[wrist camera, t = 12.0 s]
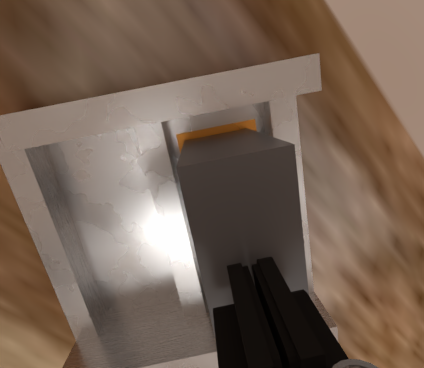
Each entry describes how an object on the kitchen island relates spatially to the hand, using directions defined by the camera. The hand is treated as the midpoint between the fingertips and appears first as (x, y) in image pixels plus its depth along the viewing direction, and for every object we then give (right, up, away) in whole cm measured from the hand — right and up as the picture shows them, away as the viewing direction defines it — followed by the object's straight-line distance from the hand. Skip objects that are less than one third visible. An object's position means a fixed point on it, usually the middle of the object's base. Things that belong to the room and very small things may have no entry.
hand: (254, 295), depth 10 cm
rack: (-4, +2, +9) cm, 10 cm away
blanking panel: (0, +2, +8) cm, 9 cm away
